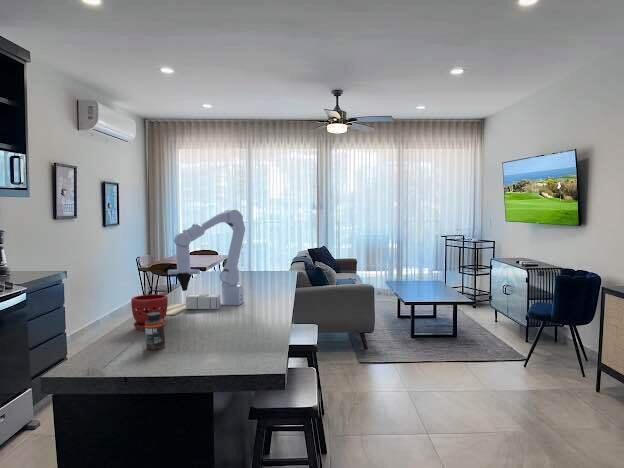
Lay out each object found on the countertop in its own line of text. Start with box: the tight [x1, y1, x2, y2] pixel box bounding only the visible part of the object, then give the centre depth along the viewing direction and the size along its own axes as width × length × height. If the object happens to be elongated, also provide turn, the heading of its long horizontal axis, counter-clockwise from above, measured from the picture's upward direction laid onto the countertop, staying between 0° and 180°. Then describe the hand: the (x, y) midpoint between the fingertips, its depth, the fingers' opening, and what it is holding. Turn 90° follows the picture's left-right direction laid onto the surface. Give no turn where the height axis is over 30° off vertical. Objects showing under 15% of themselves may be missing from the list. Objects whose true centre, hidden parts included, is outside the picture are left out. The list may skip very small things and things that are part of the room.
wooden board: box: [165, 303, 188, 317], centre depth 204 cm, size 12×20×1 cm, turn 169°
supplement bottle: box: [144, 312, 166, 351], centre depth 149 cm, size 6×6×11 cm
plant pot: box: [130, 293, 169, 331], centre depth 175 cm, size 13×13×12 cm
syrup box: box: [185, 293, 221, 310], centre depth 205 cm, size 6×6×14 cm
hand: (184, 290), depth 202 cm, fingers closed
